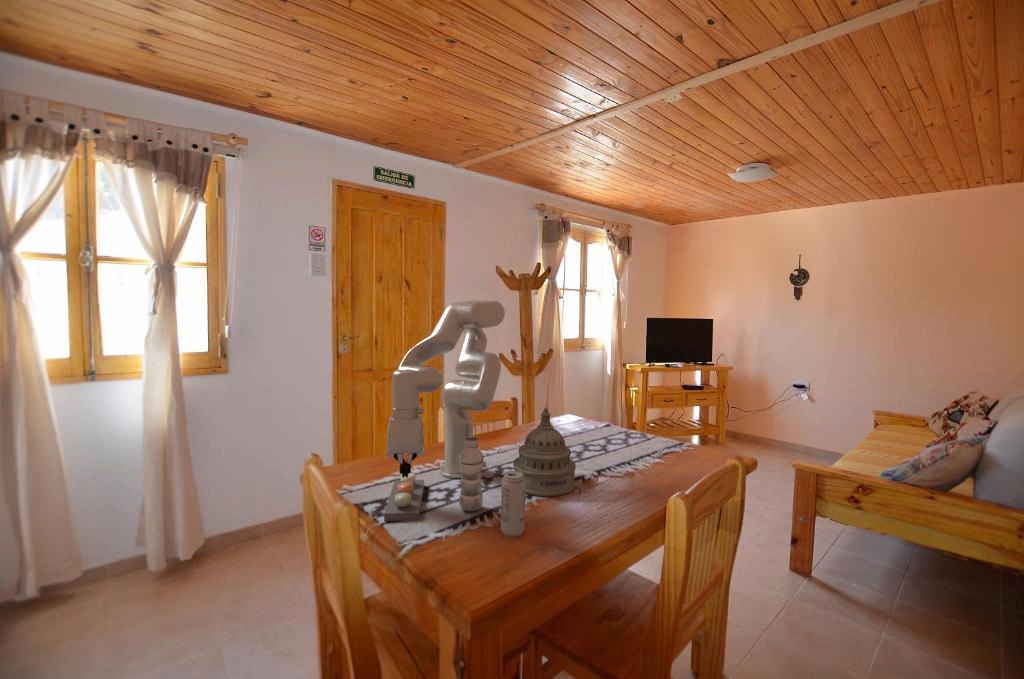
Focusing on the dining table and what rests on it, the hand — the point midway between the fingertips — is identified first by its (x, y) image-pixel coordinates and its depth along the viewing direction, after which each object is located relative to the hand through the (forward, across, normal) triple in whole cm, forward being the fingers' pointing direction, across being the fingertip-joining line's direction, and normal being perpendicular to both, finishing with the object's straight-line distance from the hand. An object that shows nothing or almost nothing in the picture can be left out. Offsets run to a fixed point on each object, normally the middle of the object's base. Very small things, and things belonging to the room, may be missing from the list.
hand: (405, 475), depth 133 cm
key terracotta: (+6, 0, 0) cm, 6 cm away
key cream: (+6, 0, -8) cm, 10 cm away
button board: (+8, 0, 0) cm, 8 cm away
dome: (+8, -43, -10) cm, 44 cm away
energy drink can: (+8, -29, +20) cm, 36 cm away
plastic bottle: (+8, -19, +6) cm, 21 cm away
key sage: (+5, 0, +7) cm, 9 cm away
